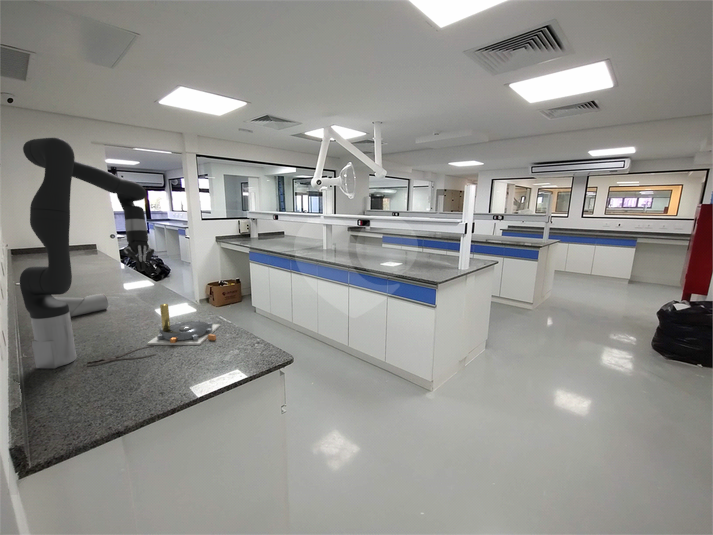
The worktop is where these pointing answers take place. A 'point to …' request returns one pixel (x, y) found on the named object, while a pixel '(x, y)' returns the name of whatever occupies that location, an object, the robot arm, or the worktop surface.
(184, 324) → the sprocket
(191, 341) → the base plate
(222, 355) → the worktop surface
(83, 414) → the worktop surface
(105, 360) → the pliers
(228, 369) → the worktop surface
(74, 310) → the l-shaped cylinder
